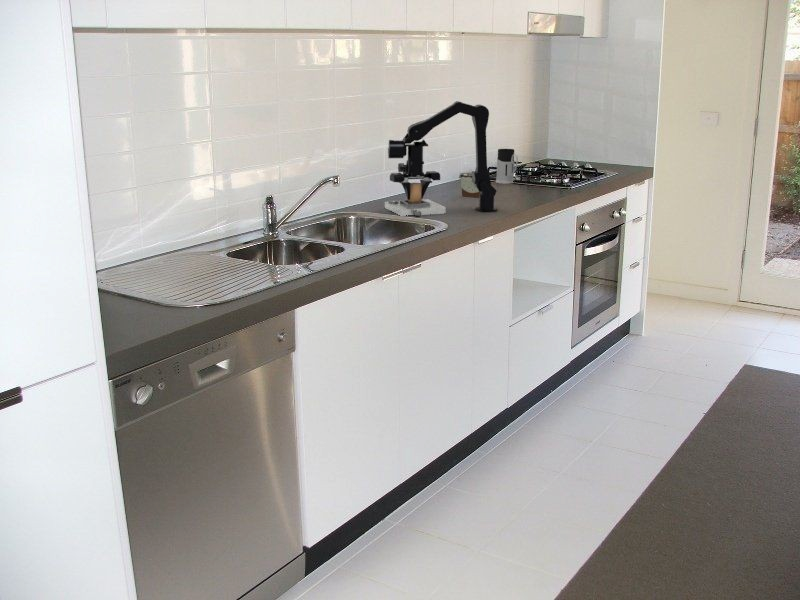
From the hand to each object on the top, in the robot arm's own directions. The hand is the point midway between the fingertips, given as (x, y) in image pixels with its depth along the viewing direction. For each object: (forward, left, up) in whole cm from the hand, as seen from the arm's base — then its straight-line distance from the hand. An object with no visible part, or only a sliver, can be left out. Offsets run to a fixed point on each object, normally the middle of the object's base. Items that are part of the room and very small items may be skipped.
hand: (414, 199), depth 338 cm
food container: (+21, -35, -5) cm, 41 cm away
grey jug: (+52, -66, -5) cm, 84 cm away
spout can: (0, 0, -2) cm, 2 cm away
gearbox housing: (-1, 0, -5) cm, 5 cm away
